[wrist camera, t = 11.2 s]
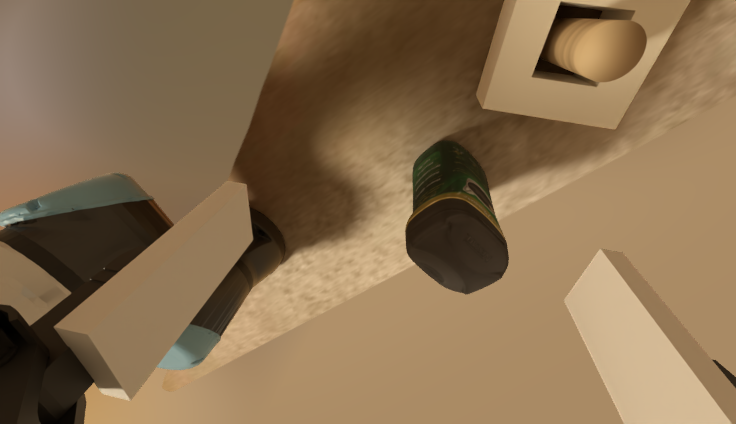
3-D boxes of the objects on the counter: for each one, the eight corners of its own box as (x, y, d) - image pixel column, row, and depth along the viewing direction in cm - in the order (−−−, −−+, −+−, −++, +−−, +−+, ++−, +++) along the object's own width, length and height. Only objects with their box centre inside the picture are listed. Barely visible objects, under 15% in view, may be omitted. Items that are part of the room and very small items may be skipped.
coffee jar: (403, 167, 43) (386, 253, 28) (448, 128, 39) (458, 204, 24) (448, 211, 46) (456, 312, 30) (495, 179, 42) (531, 277, 26)
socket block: (475, 95, 36) (482, 108, 31) (518, -47, 29) (535, -59, 24) (589, 113, 35) (615, 129, 30) (663, -30, 28) (713, -39, 23)
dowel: (529, 58, 33) (571, 78, 23) (545, 15, 31) (599, 16, 21) (567, 63, 33) (625, 86, 23) (586, 20, 31) (659, 24, 21)
